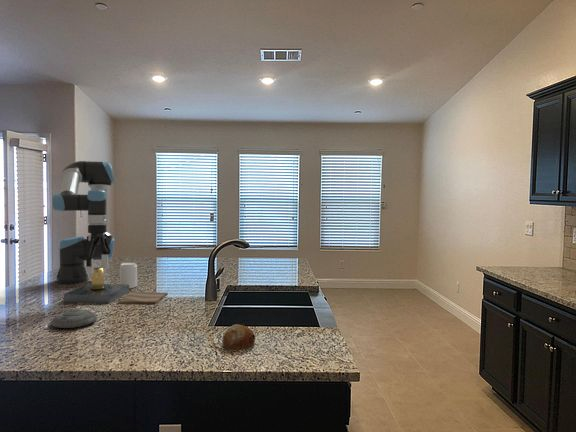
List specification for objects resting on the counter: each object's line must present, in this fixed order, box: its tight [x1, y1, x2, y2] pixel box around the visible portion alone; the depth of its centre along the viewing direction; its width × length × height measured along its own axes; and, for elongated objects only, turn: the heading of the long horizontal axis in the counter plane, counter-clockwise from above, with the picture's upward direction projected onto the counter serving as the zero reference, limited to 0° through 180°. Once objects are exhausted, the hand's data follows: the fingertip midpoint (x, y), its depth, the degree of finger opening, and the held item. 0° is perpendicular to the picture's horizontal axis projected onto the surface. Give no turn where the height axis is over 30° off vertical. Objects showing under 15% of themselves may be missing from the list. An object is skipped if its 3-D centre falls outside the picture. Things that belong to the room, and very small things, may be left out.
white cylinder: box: [119, 262, 138, 290], centre depth 199 cm, size 8×8×12 cm
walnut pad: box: [118, 291, 169, 305], centre depth 178 cm, size 16×16×1 cm
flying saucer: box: [50, 308, 98, 329], centre depth 144 cm, size 15×15×6 cm
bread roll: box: [222, 323, 256, 350], centre depth 127 cm, size 10×10×8 cm
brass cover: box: [91, 267, 105, 291], centre depth 181 cm, size 5×5×13 cm
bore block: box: [62, 283, 130, 304], centre depth 181 cm, size 20×20×4 cm
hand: (97, 271), depth 180 cm, fingers open, 13 cm apart
